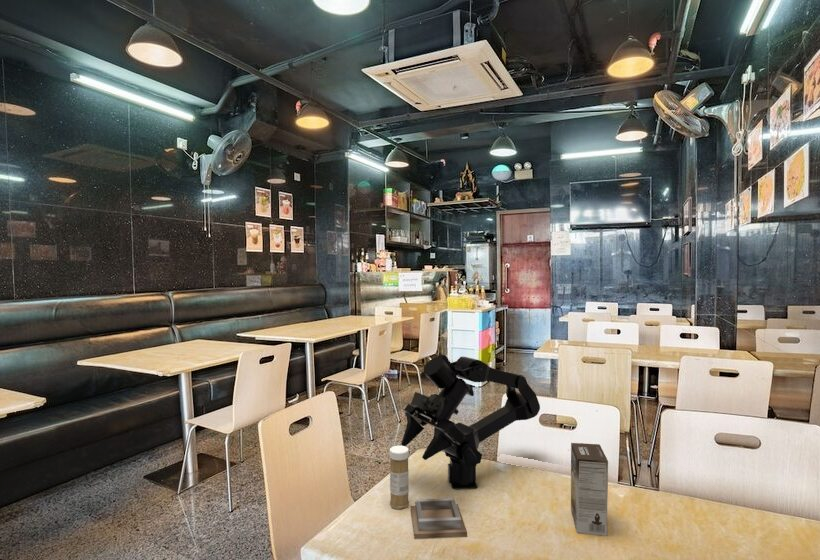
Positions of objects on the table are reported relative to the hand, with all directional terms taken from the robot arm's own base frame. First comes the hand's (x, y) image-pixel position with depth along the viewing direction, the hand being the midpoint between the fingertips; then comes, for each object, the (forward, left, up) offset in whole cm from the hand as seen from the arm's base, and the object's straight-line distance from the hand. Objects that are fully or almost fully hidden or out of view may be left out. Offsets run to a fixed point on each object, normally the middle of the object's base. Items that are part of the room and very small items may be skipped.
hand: (412, 452), depth 106 cm
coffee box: (-38, +12, -12) cm, 41 cm away
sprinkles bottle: (+3, +2, -12) cm, 13 cm away
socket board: (-5, +10, -12) cm, 16 cm away
